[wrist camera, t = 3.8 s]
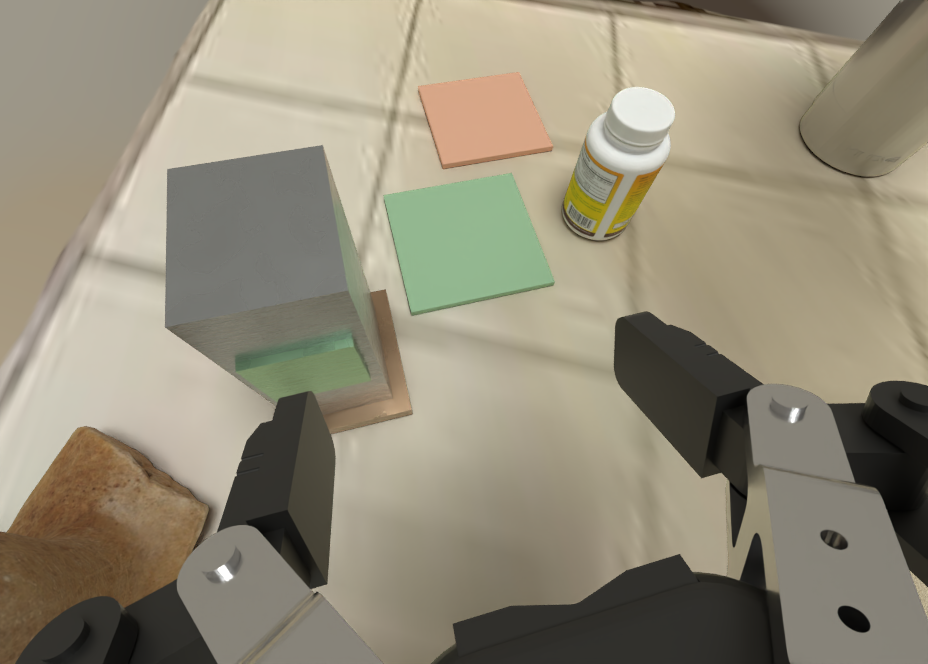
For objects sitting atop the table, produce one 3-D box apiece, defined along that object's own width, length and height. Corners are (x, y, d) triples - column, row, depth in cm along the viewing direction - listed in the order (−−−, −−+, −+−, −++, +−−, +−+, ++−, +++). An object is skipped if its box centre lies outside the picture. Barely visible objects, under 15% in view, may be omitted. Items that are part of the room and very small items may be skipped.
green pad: (384, 199, 36) (383, 195, 35) (510, 177, 37) (511, 172, 37) (411, 315, 32) (411, 312, 31) (553, 285, 33) (554, 281, 33)
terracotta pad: (418, 90, 41) (418, 86, 41) (518, 76, 43) (518, 71, 42) (443, 168, 38) (443, 164, 37) (551, 150, 39) (553, 146, 38)
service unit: (276, 320, 31) (140, 154, 17) (387, 297, 32) (343, 124, 18) (289, 444, 28) (131, 361, 14) (412, 414, 29) (382, 309, 15)
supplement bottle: (627, 195, 37) (687, 84, 28) (626, 248, 35) (691, 147, 26) (562, 185, 37) (601, 71, 28) (557, 237, 35) (597, 132, 26)
